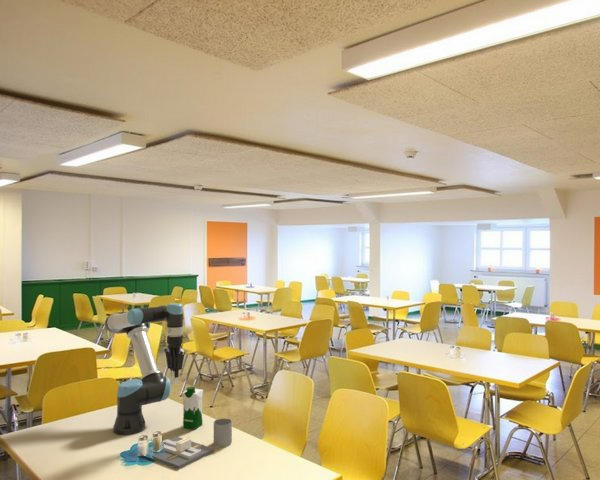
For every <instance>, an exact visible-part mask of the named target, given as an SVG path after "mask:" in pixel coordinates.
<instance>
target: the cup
mask: <svg viewBox="0 0 600 480" xmlns="http://www.w3.org/2000/svg"><path fill="white" fill-rule="evenodd" d="M232 440H233V420H232V419H230V418H218V419H215V420H214V421H213V446H214V447H217V448H226V446H227V447H229V446H231V445H232V444H233V441H232ZM231 443H232V444H231Z"/></svg>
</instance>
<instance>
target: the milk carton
mask: <svg viewBox="0 0 600 480" xmlns="http://www.w3.org/2000/svg"><path fill="white" fill-rule="evenodd" d="M203 393H204V389H202V388H201V389H199V388H195V387H193V386H189V387H186V390H185V391H183V392H182V399H183V402H182V403H183V406H182V407H183V408H182V409H183V411H182V413H183V418H182V429H187V430H192V431H196V430H197V429H199V428H200V427H201V426H202V425H203Z"/></svg>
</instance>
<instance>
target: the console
mask: <svg viewBox="0 0 600 480" xmlns="http://www.w3.org/2000/svg"><path fill="white" fill-rule="evenodd" d="M182 439H184V438H182V437H179V436H175V437H173V438H170V439H168V438H167V439H164V440H162V441H163V443H164V447H163V448H164V449H165V450H166V451H165V452H163V453H159V454H158V453H157V454H154V455H153V456H152V457H153V459H154V460H153V461H155V462H157V463H161V464H163V465H166V466H168V467H171V468H174V469H177V470H181V469H184V468H185V467H186V466H189V465H190V464H193V463H194V462H197V461H199V460H200V459H203V458H205V457H206V456H209V455H210V454H212V453H214V452H215V451H214V450H215V449H214V448H213V447H210V446H208V445H204V444H201V443H199V442H195V441H192V440H191V447H190V448H188V449H186V451H182V452H179V451H176V442H178V441H180V440H182ZM165 444H166V445H165Z"/></svg>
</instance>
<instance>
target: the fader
mask: <svg viewBox="0 0 600 480" xmlns="http://www.w3.org/2000/svg"><path fill="white" fill-rule="evenodd" d="M191 441H192V439H191V438H190V437H185V438H183V439H182V440H180V441H178V442H176V451H179V452H182V451H186V449H188V448H190V447H191Z"/></svg>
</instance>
